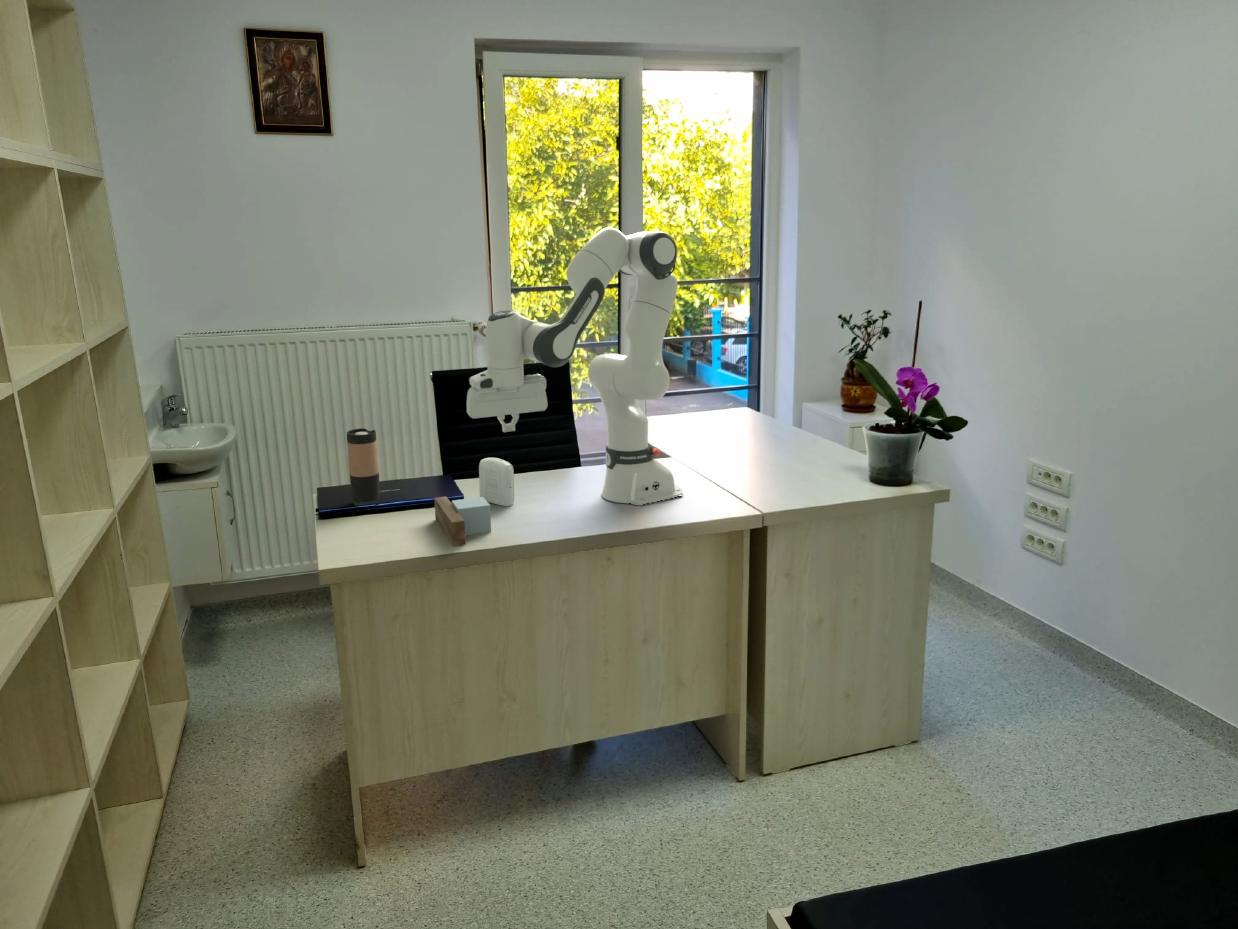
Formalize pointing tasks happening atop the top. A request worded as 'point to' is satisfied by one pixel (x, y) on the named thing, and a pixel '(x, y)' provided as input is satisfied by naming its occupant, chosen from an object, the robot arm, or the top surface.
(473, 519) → the slate block
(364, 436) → the travel mug
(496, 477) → the photo printer
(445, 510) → the stop board
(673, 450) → the top surface
